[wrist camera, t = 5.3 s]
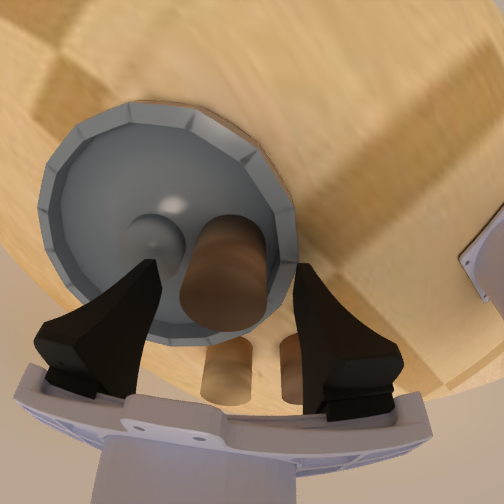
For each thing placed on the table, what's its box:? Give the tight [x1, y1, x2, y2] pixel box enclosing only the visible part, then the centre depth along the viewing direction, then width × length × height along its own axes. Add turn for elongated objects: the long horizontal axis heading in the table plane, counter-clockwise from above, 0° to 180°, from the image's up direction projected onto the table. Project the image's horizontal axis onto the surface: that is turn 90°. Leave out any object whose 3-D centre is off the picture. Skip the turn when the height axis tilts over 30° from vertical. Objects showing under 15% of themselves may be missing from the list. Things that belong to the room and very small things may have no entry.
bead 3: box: [280, 333, 303, 405], centre depth 21 cm, size 4×4×5 cm
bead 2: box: [200, 336, 253, 406], centre depth 21 cm, size 4×4×5 cm
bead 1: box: [179, 214, 267, 332], centre depth 14 cm, size 4×4×5 cm
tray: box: [37, 100, 299, 346], centre depth 16 cm, size 17×17×2 cm
